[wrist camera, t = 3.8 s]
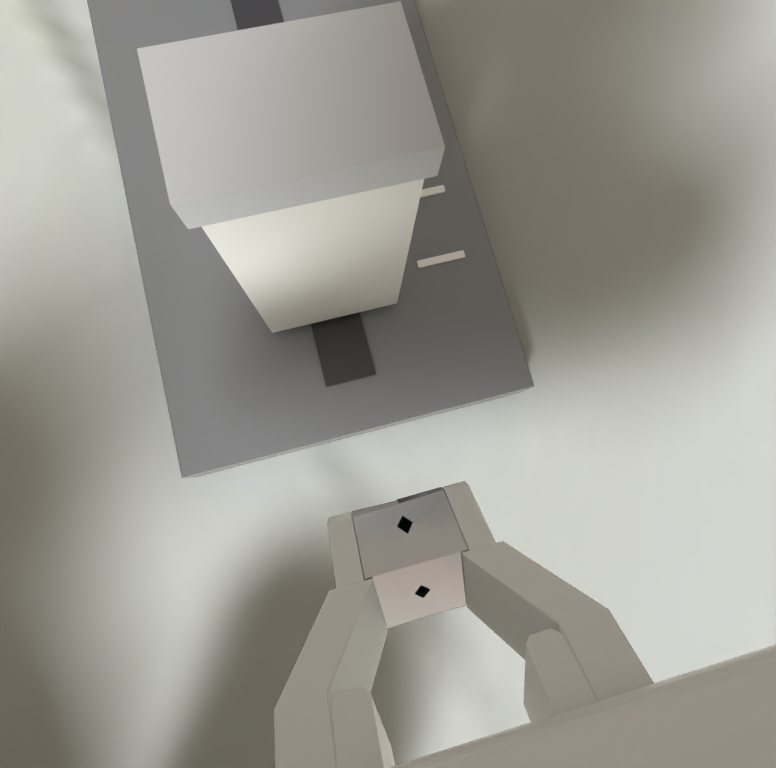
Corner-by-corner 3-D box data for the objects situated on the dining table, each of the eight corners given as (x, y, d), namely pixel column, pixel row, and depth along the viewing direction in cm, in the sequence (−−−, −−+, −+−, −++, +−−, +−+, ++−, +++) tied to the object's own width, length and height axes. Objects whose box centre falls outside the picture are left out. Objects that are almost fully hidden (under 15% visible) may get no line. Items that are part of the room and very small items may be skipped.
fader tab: (403, 306, 20) (445, 146, 10) (268, 339, 19) (169, 204, 9) (381, 228, 20) (400, 1, 10) (249, 257, 20) (137, 48, 10)
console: (521, 391, 21) (564, 371, 17) (195, 476, 20) (147, 479, 16) (380, -68, 25) (384, -187, 20) (95, -21, 24) (31, -137, 19)
